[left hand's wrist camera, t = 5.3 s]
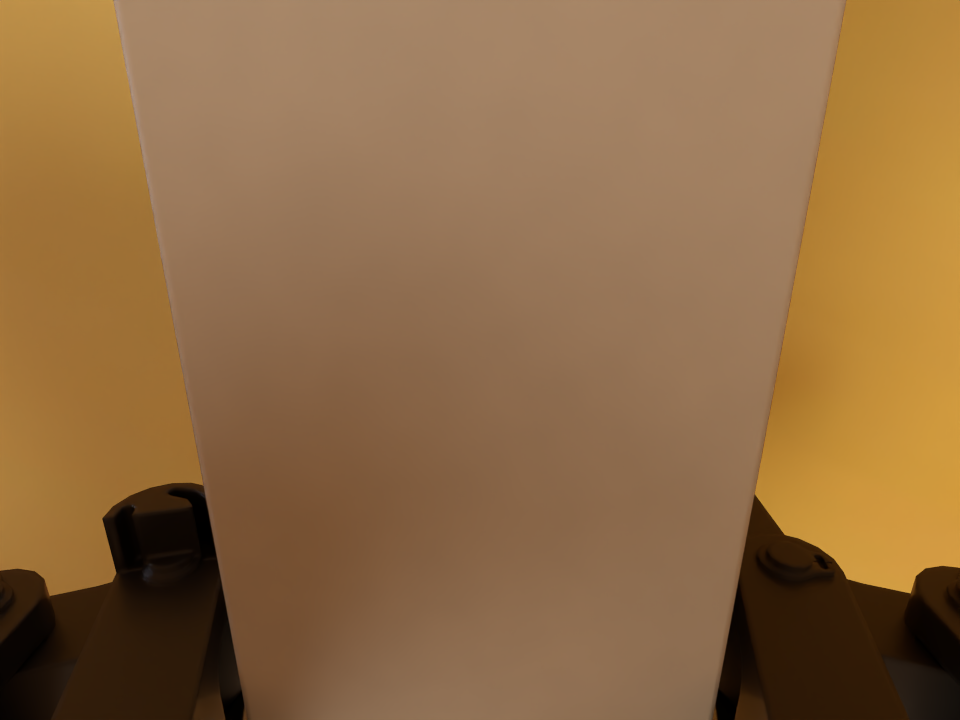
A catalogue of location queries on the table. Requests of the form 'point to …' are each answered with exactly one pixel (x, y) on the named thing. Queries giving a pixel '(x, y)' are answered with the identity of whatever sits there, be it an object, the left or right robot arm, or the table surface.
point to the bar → (479, 333)
